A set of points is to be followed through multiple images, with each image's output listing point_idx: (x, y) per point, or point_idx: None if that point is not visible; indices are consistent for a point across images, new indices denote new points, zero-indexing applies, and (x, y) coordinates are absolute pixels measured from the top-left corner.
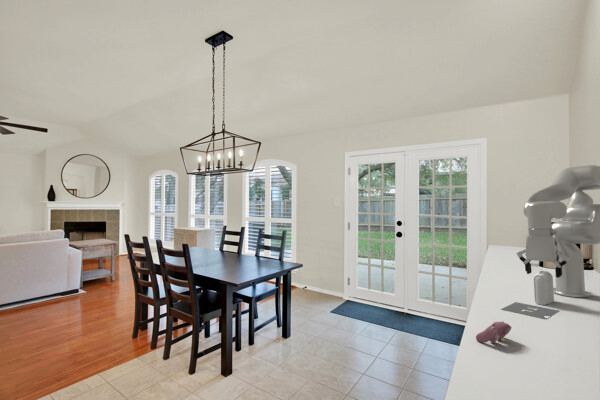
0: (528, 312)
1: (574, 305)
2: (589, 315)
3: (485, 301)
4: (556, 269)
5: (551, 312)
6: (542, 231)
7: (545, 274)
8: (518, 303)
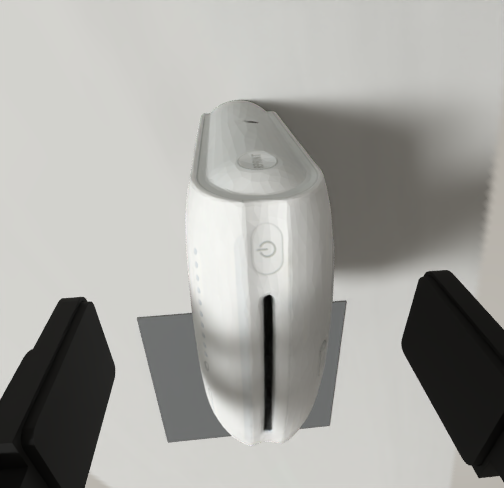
0: None
1: (397, 122)
2: (461, 270)
3: None
4: (465, 443)
5: None
6: None
7: (311, 398)
8: (161, 330)
